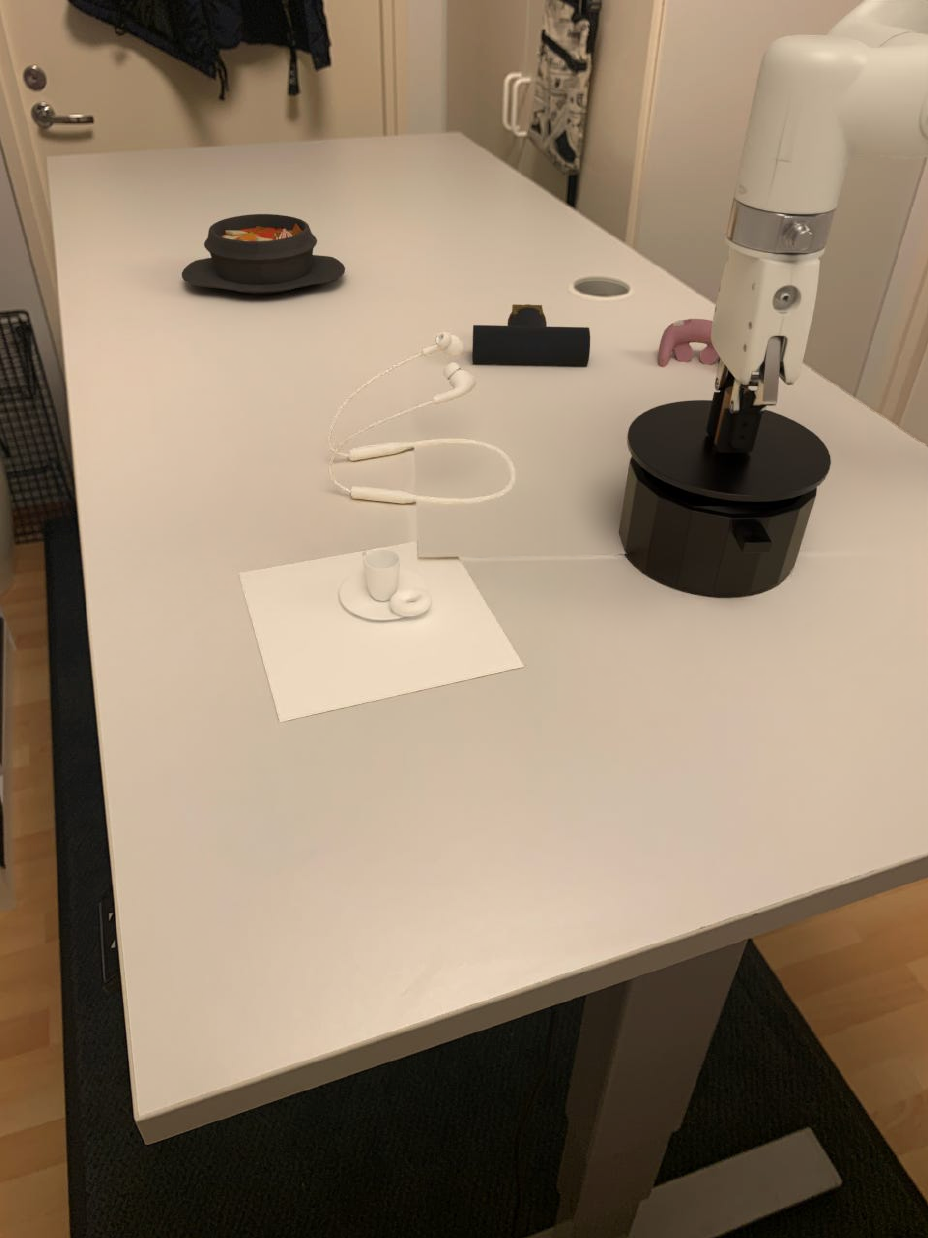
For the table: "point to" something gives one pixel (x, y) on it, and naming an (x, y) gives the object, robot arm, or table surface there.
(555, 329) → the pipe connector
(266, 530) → the table surface
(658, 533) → the pot
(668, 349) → the video game controller
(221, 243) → the casserole
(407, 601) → the teacup and saucer
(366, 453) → the earphone
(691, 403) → the lid
